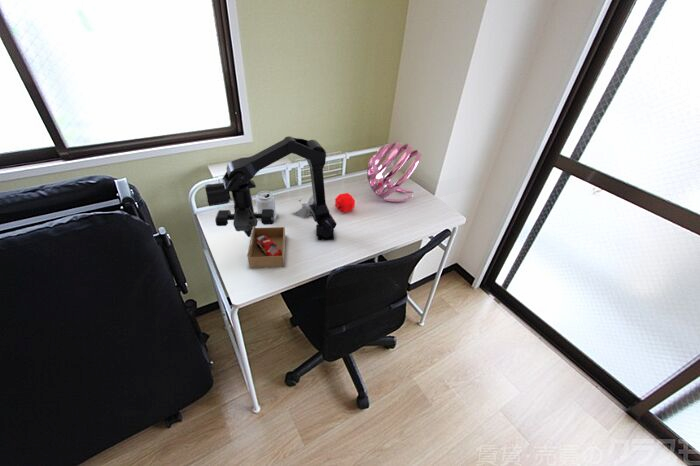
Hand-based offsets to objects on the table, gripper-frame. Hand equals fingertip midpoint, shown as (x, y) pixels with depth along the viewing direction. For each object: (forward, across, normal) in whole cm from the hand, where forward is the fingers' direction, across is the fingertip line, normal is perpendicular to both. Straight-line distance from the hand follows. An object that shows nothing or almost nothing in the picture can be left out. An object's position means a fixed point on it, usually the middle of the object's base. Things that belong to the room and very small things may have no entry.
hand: (249, 236), depth 109 cm
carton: (+8, +6, 0) cm, 10 cm away
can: (+8, +4, +21) cm, 23 cm away
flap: (-1, +1, 0) cm, 1 cm away
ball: (+8, +38, +26) cm, 47 cm away
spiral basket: (+8, +62, +40) cm, 74 cm away
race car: (+7, +6, 0) cm, 10 cm away
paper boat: (+8, +21, +26) cm, 34 cm away
